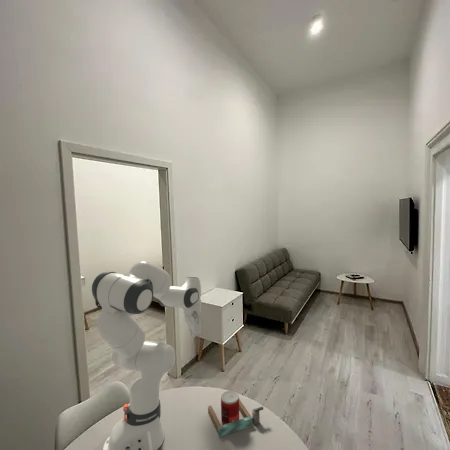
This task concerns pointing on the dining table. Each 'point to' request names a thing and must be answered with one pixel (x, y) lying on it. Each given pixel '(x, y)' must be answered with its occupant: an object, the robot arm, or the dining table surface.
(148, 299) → the robot arm
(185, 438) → the dining table surface
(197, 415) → the dining table surface
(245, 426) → the bay
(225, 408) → the canned food
